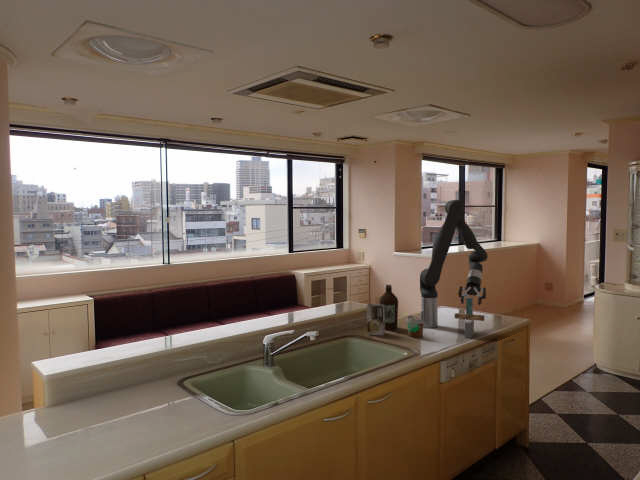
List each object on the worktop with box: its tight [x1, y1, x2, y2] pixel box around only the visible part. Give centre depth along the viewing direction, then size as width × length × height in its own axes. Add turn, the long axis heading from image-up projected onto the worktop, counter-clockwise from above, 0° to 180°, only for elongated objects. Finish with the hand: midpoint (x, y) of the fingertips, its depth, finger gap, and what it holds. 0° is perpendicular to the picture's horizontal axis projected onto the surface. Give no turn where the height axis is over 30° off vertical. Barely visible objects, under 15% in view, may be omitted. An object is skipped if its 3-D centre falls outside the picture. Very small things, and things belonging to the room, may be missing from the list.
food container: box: [405, 315, 424, 339], centre depth 258 cm, size 12×6×10 cm, turn 21°
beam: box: [454, 296, 485, 322], centre depth 257 cm, size 15×3×11 cm, turn 63°
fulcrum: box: [464, 319, 475, 339], centre depth 257 cm, size 3×10×9 cm, turn 153°
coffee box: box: [366, 303, 386, 336], centre depth 265 cm, size 9×6×16 cm
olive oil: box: [378, 284, 399, 331], centre depth 275 cm, size 11×11×25 cm
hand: (470, 303), depth 259 cm, fingers open, 8 cm apart
